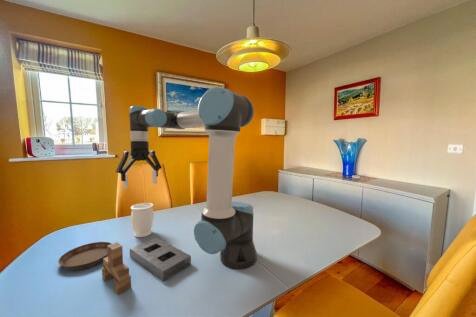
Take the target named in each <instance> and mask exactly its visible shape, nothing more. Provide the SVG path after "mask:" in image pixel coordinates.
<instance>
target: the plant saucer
mask: <svg viewBox="0 0 476 317" xmlns="http://www.w3.org/2000/svg"><path fill="white" fill-rule="evenodd" d="M111 244H112V243H111V242H108V241H96V242H90V243H85V244H83V245H80V246H76V247H75V248H72V249H70V250H68V251H66V252H65V253H64V254H62V255H61V256H60V257H59V258H58V260H57V261H58V264H59V265H60V266H61V267H62V268H64V269H67V270H70V271H71V270H72V271H73V270H74V271H76V270H83V269H86V268H90V267H93V266H95V265H97V264H100V263H102V262H103V258H105V257H108V250H107V246H108V245H111Z"/></svg>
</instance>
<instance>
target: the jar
mask: <svg viewBox="0 0 476 317" xmlns="http://www.w3.org/2000/svg"><path fill="white" fill-rule="evenodd" d="M153 207H154V204H153V203H151V202H142V203H136V204H133V205H131V206H130V210H131V214H130V217H131V218H130V220H131V227H132V230H133V232H134V234H133V236H134V237H136V238H144V237H147V236H149V235H151V234H152V232H153V231H152V228H153V223H154V214H155V213H154V210H153Z"/></svg>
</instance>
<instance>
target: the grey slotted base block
mask: <svg viewBox="0 0 476 317" xmlns="http://www.w3.org/2000/svg"><path fill="white" fill-rule="evenodd" d="M129 257H130V258H131V259H132V260H133V261H135V262H137V263H138V264H139V265H140V266H142V267H143V268H144V269H146V270H147V271H148V272H149V273H151V274H153V275H154V276H155V277H156V278H158V279H160V280H161V281H162V282H165V281H166V280H168V279H170V278H171V277H173V276H175V275H177V274H178V273H180V272H181V271H182V270H184V269H186V268H187V267H189V266H191V264H192V255H191V254H188V253H187V252H185V251H183V250H182V249H179V248H177V247H175V246H173V245H172V244H169V243H167V242H166V241H164V240H162V239H160V238H158V237H155V238H152V239H150V240H147V241H145V242H141V243H140V244H137V245H134V246H132V247H130V248H129Z"/></svg>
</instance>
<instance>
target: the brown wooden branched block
mask: <svg viewBox="0 0 476 317" xmlns="http://www.w3.org/2000/svg"><path fill="white" fill-rule="evenodd" d="M107 250H108V256H107V257H105V258H103V261H102V263H103V264H102V265H103V266H102V267H101V274H102V276H101V278H102V280H104V282H106V281H108V280H111V279H113V278H114V279H113V280H114V281H113V283H114V292H115V293H116V294H117V295H121V294H122V293H124V292H125V291H127V290H129V289H130V288H132V276H131V275H130V267H129V266H127V264H126V263H124V258H123V257H124V254H123V253H124V252H123V251H124V250H123V245H122V244H121V243H119V242H118V241H117V242H114V243H111V245H108V246H107Z"/></svg>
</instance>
